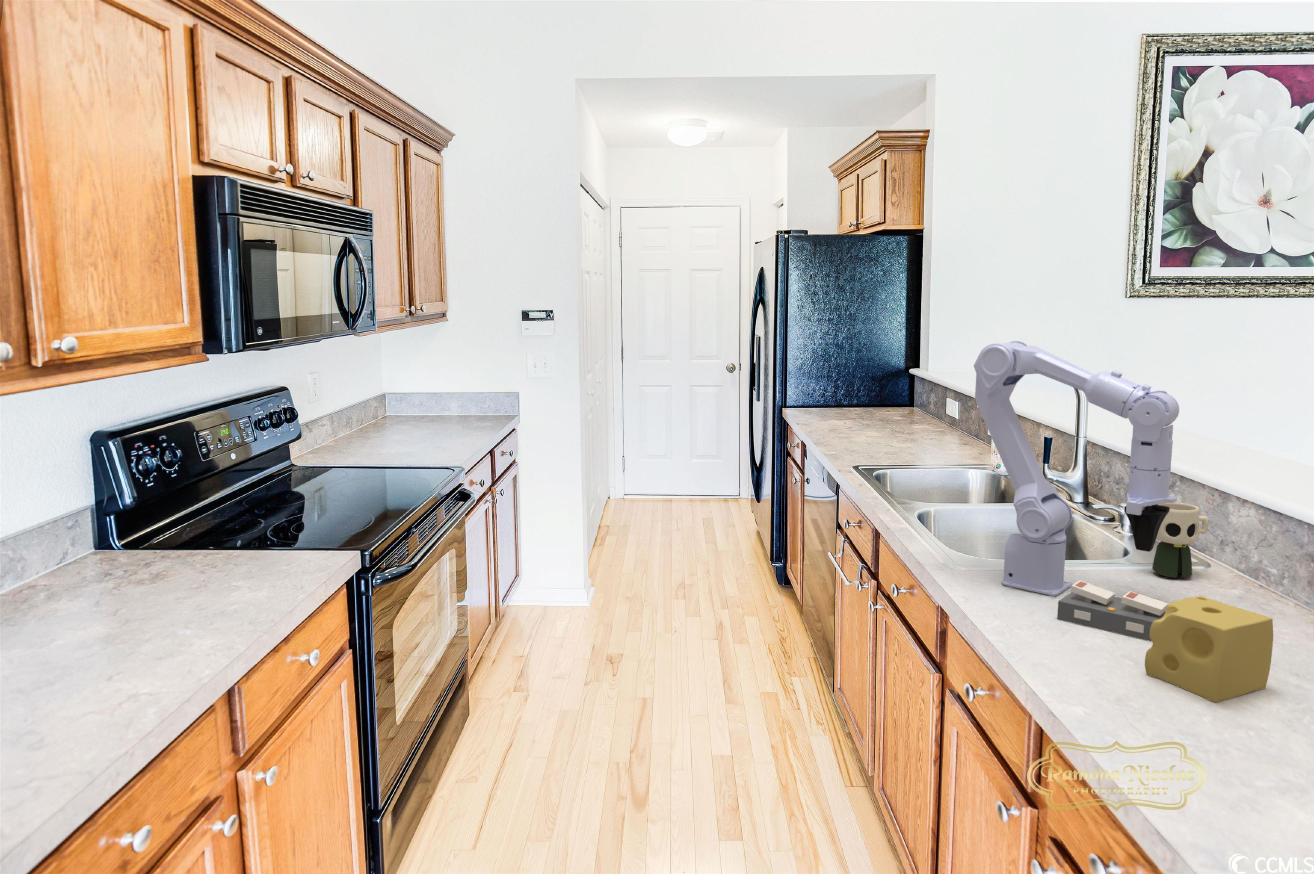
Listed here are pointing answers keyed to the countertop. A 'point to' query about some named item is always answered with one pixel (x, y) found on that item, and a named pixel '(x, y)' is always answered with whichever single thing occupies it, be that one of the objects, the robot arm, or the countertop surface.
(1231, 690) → the cheese
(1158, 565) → the character mug
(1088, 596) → the rocker
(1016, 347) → the robot arm
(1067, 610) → the double switch panel
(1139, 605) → the rocker
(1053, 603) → the countertop surface
